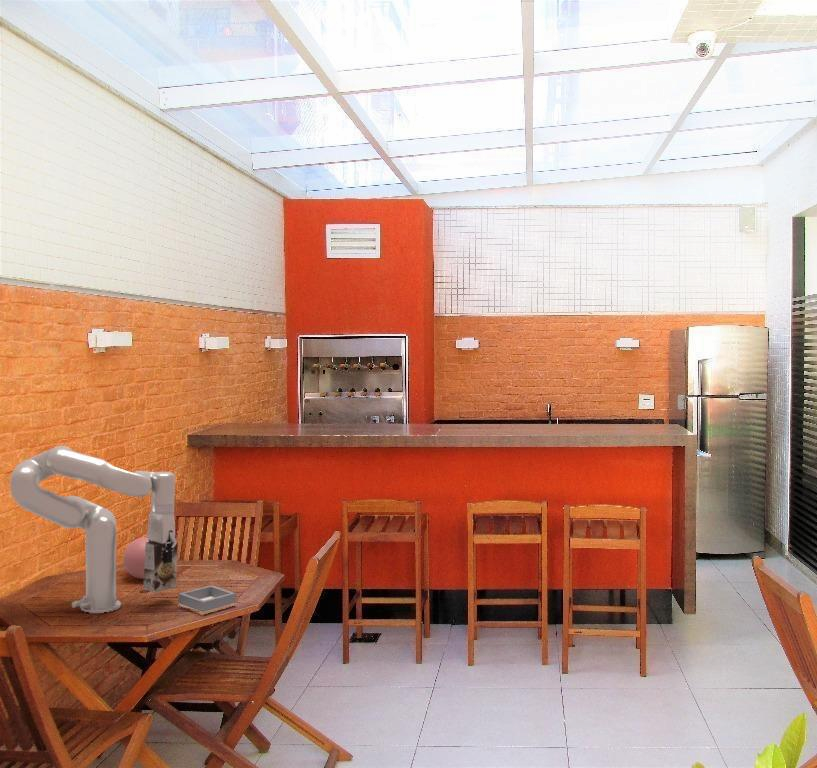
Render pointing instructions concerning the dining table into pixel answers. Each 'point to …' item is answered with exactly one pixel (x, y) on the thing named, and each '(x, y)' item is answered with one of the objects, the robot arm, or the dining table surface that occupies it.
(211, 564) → the dining table surface
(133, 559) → the balloon
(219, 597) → the holder
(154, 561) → the coffee box
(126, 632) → the dining table surface
